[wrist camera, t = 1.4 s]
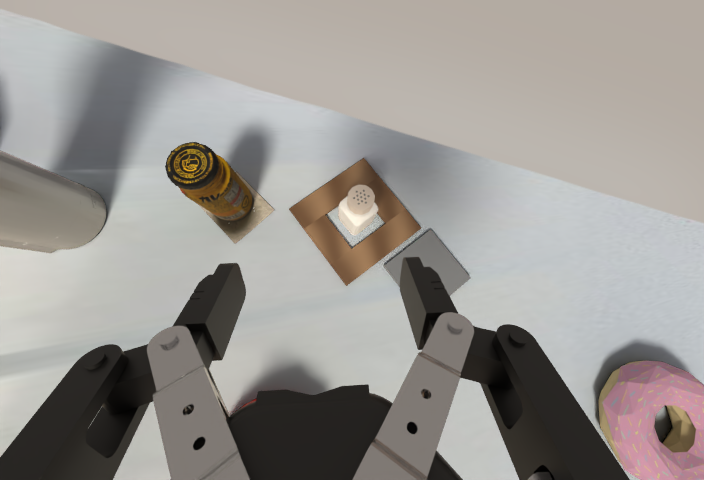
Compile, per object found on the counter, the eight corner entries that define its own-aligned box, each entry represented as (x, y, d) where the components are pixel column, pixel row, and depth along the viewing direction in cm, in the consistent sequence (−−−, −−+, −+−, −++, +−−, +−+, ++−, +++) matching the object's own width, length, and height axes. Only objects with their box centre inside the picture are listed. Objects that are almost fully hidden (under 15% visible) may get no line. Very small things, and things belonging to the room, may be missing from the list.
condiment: (236, 172, 40) (195, 122, 29) (274, 210, 39) (248, 175, 28) (197, 203, 39) (138, 165, 27) (236, 244, 38) (191, 222, 26)
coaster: (422, 316, 38) (424, 317, 37) (383, 266, 39) (384, 265, 38) (468, 278, 39) (470, 277, 38) (429, 230, 40) (430, 229, 40)
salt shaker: (336, 217, 40) (336, 194, 30) (357, 201, 40) (363, 174, 31) (353, 237, 39) (358, 220, 30) (374, 221, 40) (385, 200, 31)
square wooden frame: (346, 285, 38) (346, 285, 37) (289, 210, 39) (289, 208, 39) (420, 229, 40) (421, 228, 40) (363, 159, 42) (363, 157, 41)
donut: (571, 437, 36) (609, 460, 31) (609, 335, 39) (648, 341, 34) (677, 503, 35) (732, 537, 30) (707, 394, 38) (762, 409, 33)
